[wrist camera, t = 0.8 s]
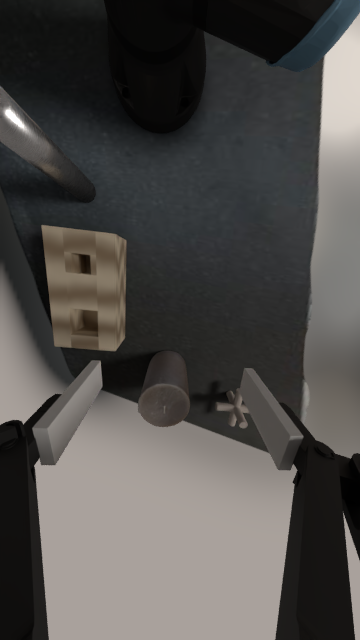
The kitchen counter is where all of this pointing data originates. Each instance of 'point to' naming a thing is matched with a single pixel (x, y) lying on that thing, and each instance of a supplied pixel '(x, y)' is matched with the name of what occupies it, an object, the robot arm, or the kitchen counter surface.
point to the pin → (40, 149)
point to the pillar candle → (165, 390)
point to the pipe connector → (234, 409)
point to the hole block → (86, 287)
